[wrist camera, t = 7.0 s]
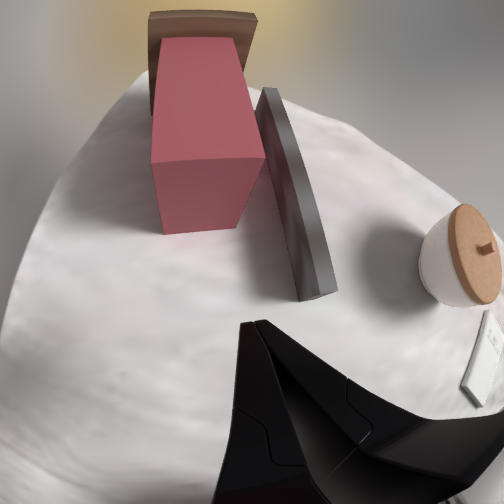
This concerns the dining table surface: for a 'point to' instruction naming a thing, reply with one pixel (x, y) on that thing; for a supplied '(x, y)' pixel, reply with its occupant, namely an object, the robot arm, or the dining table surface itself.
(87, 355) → the dining table surface
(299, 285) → the bookend
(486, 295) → the lidded jar
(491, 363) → the external hard drive
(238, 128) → the pink rectangular block
